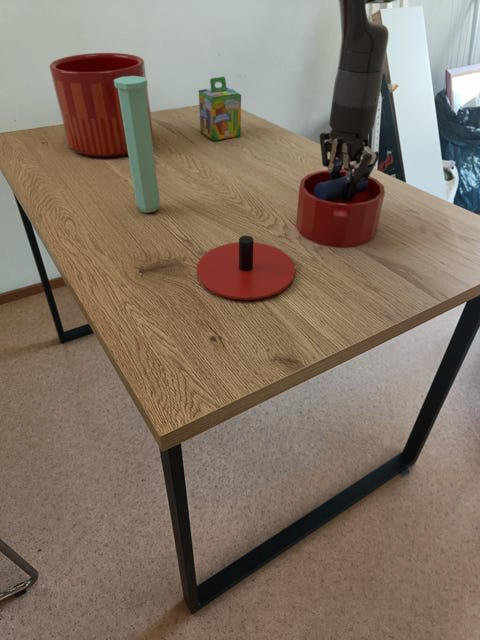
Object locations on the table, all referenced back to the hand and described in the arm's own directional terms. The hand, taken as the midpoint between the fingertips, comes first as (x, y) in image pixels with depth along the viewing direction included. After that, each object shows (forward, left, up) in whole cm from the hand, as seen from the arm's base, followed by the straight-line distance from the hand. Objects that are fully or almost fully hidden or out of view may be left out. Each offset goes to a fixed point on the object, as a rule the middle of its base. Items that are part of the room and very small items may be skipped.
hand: (340, 195), depth 86 cm
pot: (0, 0, -7) cm, 7 cm away
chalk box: (+34, -49, -7) cm, 60 cm away
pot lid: (+15, +19, -6) cm, 25 cm away
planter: (+62, -36, -7) cm, 72 cm away
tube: (0, 0, 0) cm, 0 cm away
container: (+39, 0, -7) cm, 40 cm away
